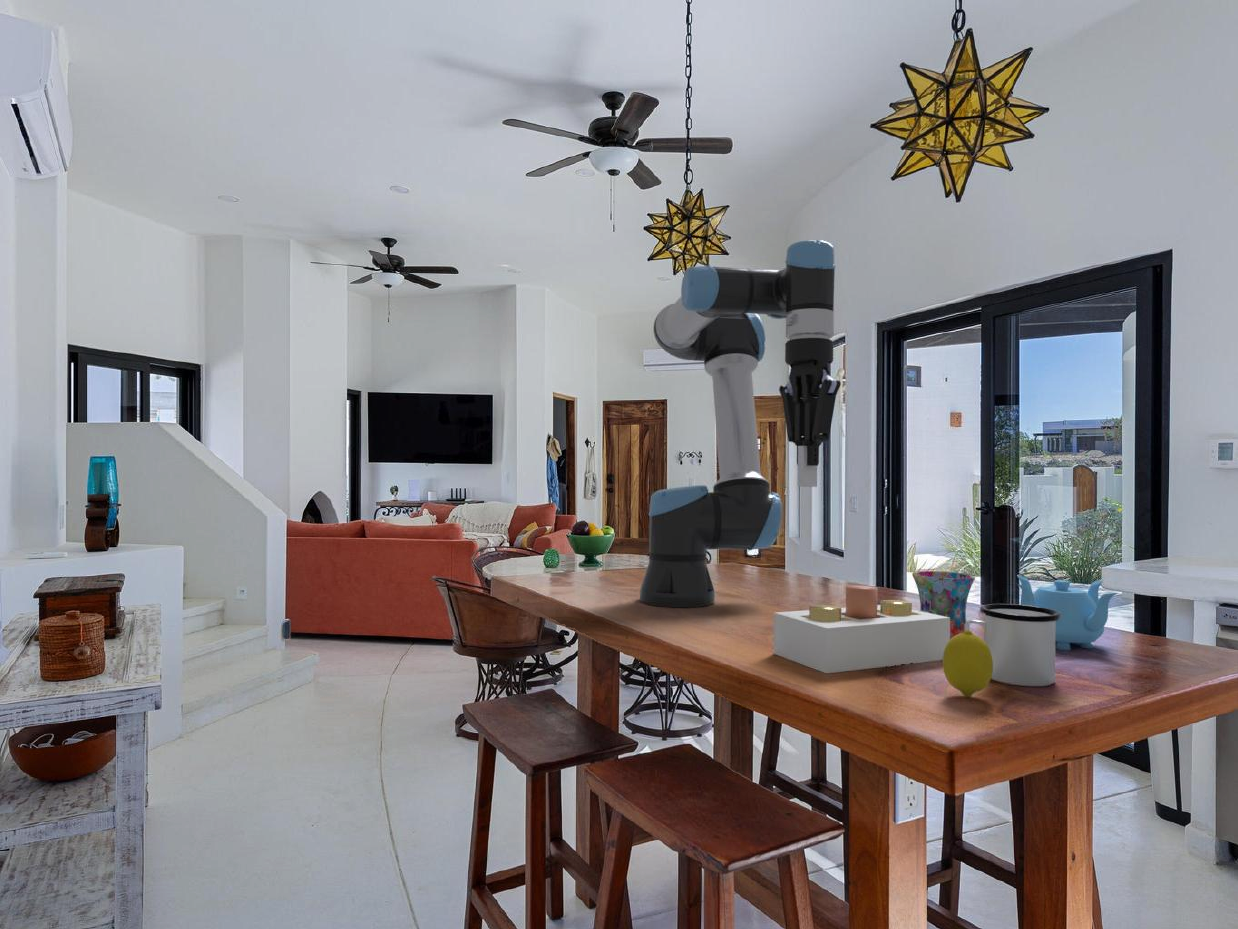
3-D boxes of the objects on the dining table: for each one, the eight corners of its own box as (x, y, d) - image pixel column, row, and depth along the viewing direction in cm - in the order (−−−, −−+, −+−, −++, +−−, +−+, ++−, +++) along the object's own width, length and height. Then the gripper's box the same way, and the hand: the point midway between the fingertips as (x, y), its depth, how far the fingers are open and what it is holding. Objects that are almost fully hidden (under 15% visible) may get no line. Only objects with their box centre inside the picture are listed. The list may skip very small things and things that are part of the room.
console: (773, 653, 116) (774, 612, 116) (889, 642, 125) (890, 604, 125) (826, 673, 105) (826, 628, 105) (949, 659, 114) (950, 617, 114)
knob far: (873, 634, 119) (874, 600, 119) (896, 632, 121) (896, 599, 121) (894, 640, 115) (895, 605, 115) (917, 637, 117) (918, 603, 117)
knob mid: (839, 620, 116) (839, 586, 116) (862, 618, 118) (863, 584, 118) (859, 625, 112) (860, 590, 112) (883, 623, 114) (884, 589, 114)
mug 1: (954, 650, 120) (955, 580, 120) (899, 639, 127) (900, 573, 127) (994, 640, 127) (995, 574, 127) (940, 631, 135) (941, 568, 135)
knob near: (802, 640, 114) (803, 605, 114) (827, 638, 115) (827, 604, 116) (822, 647, 110) (822, 611, 110) (847, 644, 111) (848, 609, 111)
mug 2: (1072, 680, 103) (1073, 611, 103) (1040, 693, 97) (1041, 619, 97) (981, 662, 113) (982, 598, 113) (947, 672, 107) (948, 605, 107)
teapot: (1016, 633, 134) (1016, 573, 134) (1107, 641, 128) (1107, 578, 128) (1017, 648, 122) (1017, 582, 123) (1117, 657, 117) (1118, 589, 117)
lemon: (951, 688, 99) (952, 624, 99) (998, 696, 95) (999, 630, 95) (935, 697, 95) (936, 630, 95) (984, 706, 91) (985, 637, 91)
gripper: (766, 343, 132) (764, 485, 132) (815, 331, 120) (813, 487, 120) (803, 346, 135) (801, 485, 135) (855, 335, 123) (853, 487, 123)
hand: (807, 486), depth 127 cm, fingers closed
